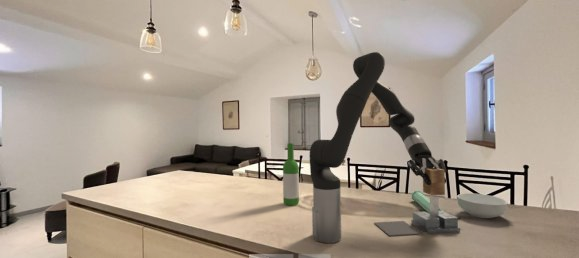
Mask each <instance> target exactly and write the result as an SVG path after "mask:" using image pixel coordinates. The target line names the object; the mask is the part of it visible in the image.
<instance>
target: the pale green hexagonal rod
mask: <svg viewBox="0 0 579 258" xmlns="http://www.w3.org/2000/svg"><path fill="white" fill-rule="evenodd" d="M411 199H412V200H413V201H414V202H416V203H417V204H418V205H419V206H421V208H423V209H424V210H425V212H427V213H429V214H430V198H429V197H427V196H426V195H424V192H423V191H421V190H414V191H413V192H412V193H411ZM439 211H443V208H441V207H440V206H439Z"/></svg>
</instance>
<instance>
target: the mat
mask: <svg viewBox="0 0 579 258" xmlns="http://www.w3.org/2000/svg"><path fill="white" fill-rule="evenodd" d="M374 225H375V226H376V225H377V226H376V227H378V228H379V230H381V231H382V230H383V232H384V234H386V235H387V236H388V237H399V236H401V235H404V236H417V235H418V236H419V234H421V235H423V232H421V230H418V228H417V229H416V228H415V226H412V225H411V224H410V223H407V222H406V221H404V220H399V221H398V220H397V221H396V220H395V221H380V222H379V221H377V222H374Z"/></svg>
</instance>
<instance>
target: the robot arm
mask: <svg viewBox="0 0 579 258" xmlns="http://www.w3.org/2000/svg"><path fill="white" fill-rule="evenodd" d="M385 65H386V62H385V56H384V55H383V54H382V53H381V52H379V51H375V52H369V53H366V54H363V55H361V56H358V57H356V58H355V59H354V61H353V62H352V68H353V71H354V75H355V76H356V77H357V80H355V82H353V83H352V84H351V85H350V86H349V87H348V88H346V90H345V91H344V93H343V94H342V95H341V98H340V99H339V101H338V103H337V105H336V111H335V113H336V119H337V128H336V131H335V133H334V135H333V136H332V138H331V139H316V140H314V141H313V142H312V143H311V145H310V148H309V167H310V168H309V171H310V178H311V181H312V186H313V187H312V192H313V193H312V194H313V197H312V202H313V207H311V211H312V212H311V218H312V219H311V220H312V221H311V222H312V236H313V238H314V240H315V242H321V243H325V244H326V243H328V244H331V243H337V242H339V241H341V239H342V199H341V197H342V195H341V193H342V192H341V189H342V188H341V180H340V177H338V176H336V175H335V174H334V173H333V172H332V170H331V168H333V169H335V168H339V167H340V166H341V165H343V162H344V160H345V158H346V157H347V154H348V153H347V152H348V150H349V146H350V143H351V141H352V137H353V136H354V135H353V134H354V133H355V130H356V128H357V125H358V122H359V120H360V118H361V117H362V114H363V112H364V110H365V109H366V108H365V107H366V105H367V102H368V100H369V98H370V96H371V94H373V95H374V97H376V99H377V101H378V102H379V103H380V105H381V106H382V109H384V111H385V113H386V114H387V115H389V116H391V117H390V118H389V120H388V125H389V127H390V128H391V129H392V130H393V131H394V132H396V134H398V135H399V137H400V138H401V140H402V142H403V144H404V147H405V149H406V152H407V153H408V155H409V157H410V159H409V160H408V162H407V164H406V165H407V166H408V168H409V169H410V170H411V172H412V173H413V174H414V175H415V176H417V177H418V176H420V177H421V178H422V181H423V180H424V182H425V183H426V184H427V185H430V184H431V183H432V182H431V180H430V178H429V176H428V174H426V170H425V169H426V168H439V169H443V170H445V173H447V168H446V165H445V163H444V160H443V158H440V159H435V157H434V156H433V155H432V151H431V150H430V148H429V146H428V145H427V143H426V141H425V140H424V138H423V137H422V136H421V134H420V133H419V131H418V129H417V128H416V127H415V126H412V125H414V123H415V115H414V114H413V113H412V112H411V111H409V110H408V109H407V108H406V107H405V106H404V105H403V104H402V103H401V102H400V100H399V98H398V96H397V95H396V93H395V92H394V91H393V90H391V89H390V88H389V87H387V86H386V85H384V84H382V83H381V82H380V81H379V80H380V79H381V78H380V77H381V76H382V74H383V72H384V70H385ZM447 181H448V180H447V178H445V184H446V183H447Z"/></svg>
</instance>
